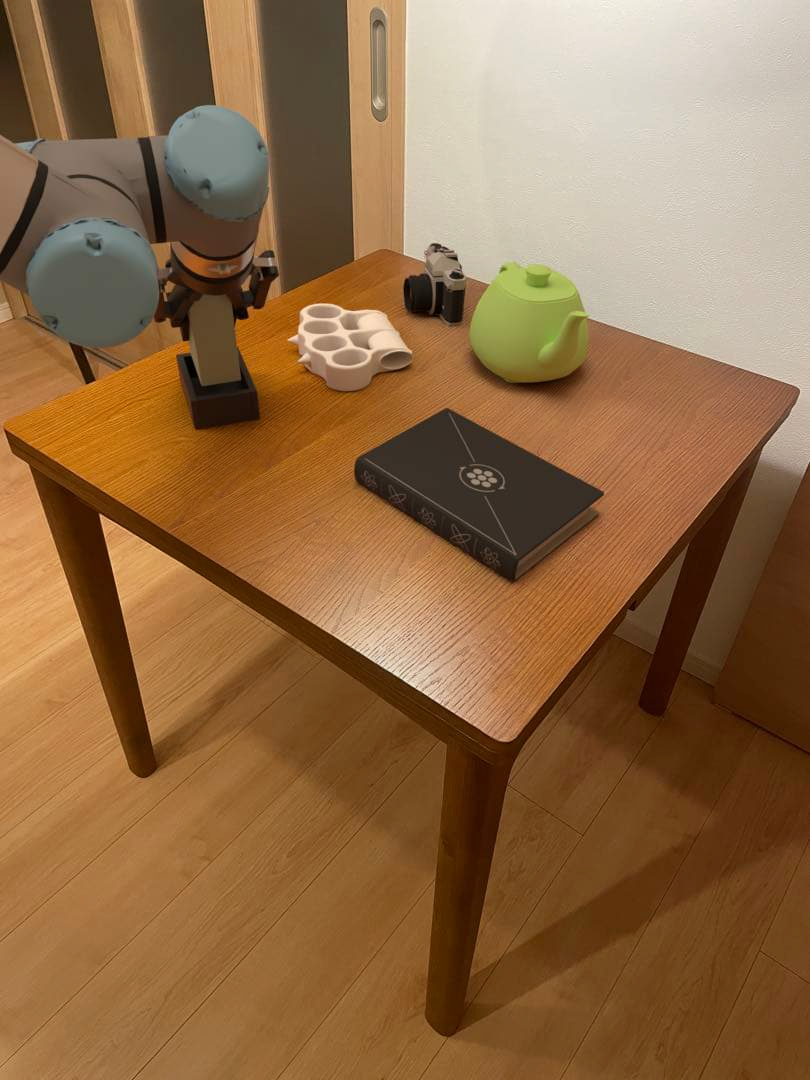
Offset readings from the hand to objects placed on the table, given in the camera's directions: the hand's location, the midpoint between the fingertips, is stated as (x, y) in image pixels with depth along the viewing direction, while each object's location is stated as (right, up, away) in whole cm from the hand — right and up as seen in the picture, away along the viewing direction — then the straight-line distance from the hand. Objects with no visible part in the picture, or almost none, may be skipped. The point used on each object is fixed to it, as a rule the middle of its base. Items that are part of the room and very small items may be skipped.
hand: (205, 326), depth 94 cm
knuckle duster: (+16, -1, +12) cm, 20 cm away
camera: (+27, +9, +23) cm, 37 cm away
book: (+31, -21, -10) cm, 39 cm away
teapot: (+40, -3, +11) cm, 41 cm away
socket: (+1, -8, +3) cm, 9 cm away
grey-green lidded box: (+1, -5, 0) cm, 5 cm away
